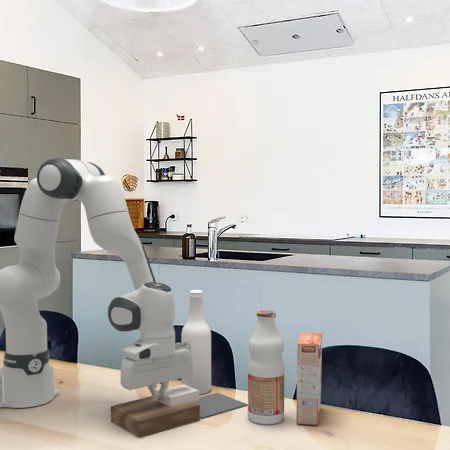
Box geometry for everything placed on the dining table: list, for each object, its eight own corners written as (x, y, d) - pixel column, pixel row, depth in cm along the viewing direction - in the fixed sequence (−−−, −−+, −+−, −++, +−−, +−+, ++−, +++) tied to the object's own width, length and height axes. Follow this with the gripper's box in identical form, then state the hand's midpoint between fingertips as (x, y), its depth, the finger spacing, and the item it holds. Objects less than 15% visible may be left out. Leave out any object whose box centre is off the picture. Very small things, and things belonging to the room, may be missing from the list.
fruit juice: (259, 427, 148) (259, 316, 147) (241, 415, 157) (241, 309, 156) (291, 421, 152) (291, 313, 151) (272, 410, 161) (272, 307, 160)
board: (110, 421, 152) (110, 406, 152) (169, 406, 164) (168, 391, 164) (139, 437, 142) (139, 421, 142) (199, 420, 153) (199, 405, 153)
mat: (172, 405, 164) (172, 404, 164) (217, 394, 174) (217, 392, 174) (201, 418, 154) (201, 417, 154) (247, 405, 164) (247, 404, 164)
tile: (155, 400, 157) (155, 390, 157) (183, 393, 162) (183, 384, 162) (170, 407, 151) (170, 397, 151) (199, 399, 157) (199, 390, 157)
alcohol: (217, 391, 177) (217, 291, 176) (194, 397, 171) (193, 293, 170) (198, 384, 184) (198, 287, 183) (175, 390, 178) (175, 290, 177)
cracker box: (319, 426, 149) (320, 343, 148) (295, 425, 150) (296, 342, 149) (322, 408, 162) (322, 332, 162) (299, 406, 164) (300, 331, 163)
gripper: (183, 338, 162) (184, 388, 162) (117, 350, 149) (117, 404, 149) (197, 342, 157) (198, 394, 157) (129, 355, 144) (130, 411, 144)
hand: (158, 399), depth 153 cm, fingers closed
